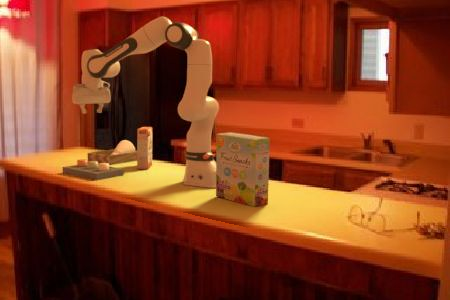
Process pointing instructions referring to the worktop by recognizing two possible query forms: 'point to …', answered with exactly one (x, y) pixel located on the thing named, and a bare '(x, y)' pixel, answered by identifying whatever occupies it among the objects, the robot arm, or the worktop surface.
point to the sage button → (92, 164)
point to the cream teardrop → (124, 148)
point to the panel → (93, 172)
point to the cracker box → (144, 147)
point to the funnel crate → (112, 157)
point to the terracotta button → (82, 163)
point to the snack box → (242, 168)
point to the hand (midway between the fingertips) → (92, 113)
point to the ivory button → (103, 167)
